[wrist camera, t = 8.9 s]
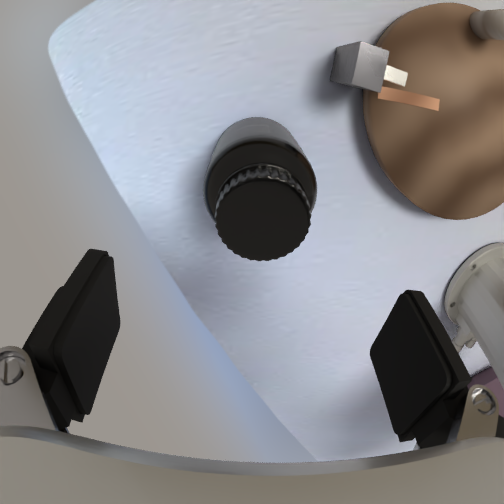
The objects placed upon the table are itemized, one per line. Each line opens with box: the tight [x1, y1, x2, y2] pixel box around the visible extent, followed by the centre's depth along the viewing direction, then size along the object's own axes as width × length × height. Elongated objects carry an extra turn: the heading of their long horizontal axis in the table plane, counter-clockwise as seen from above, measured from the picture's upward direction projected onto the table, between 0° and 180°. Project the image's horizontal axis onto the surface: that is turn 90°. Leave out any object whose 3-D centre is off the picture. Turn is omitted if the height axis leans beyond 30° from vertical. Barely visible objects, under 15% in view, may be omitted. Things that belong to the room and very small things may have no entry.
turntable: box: [363, 3, 504, 220], centre depth 19 cm, size 20×20×6 cm
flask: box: [467, 368, 504, 418], centre depth 38 cm, size 16×16×20 cm
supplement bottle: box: [203, 117, 317, 261], centre depth 21 cm, size 7×7×12 cm
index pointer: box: [330, 41, 408, 93], centre depth 19 cm, size 3×4×6 cm
